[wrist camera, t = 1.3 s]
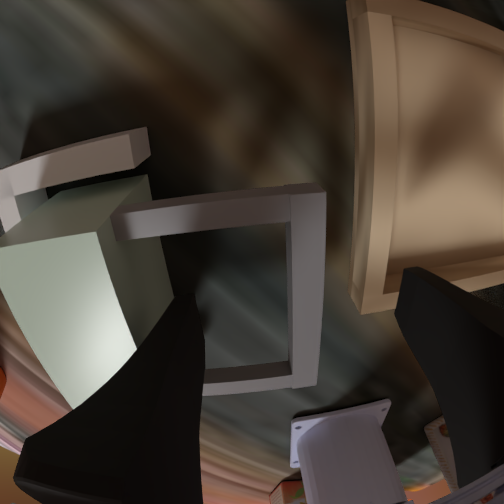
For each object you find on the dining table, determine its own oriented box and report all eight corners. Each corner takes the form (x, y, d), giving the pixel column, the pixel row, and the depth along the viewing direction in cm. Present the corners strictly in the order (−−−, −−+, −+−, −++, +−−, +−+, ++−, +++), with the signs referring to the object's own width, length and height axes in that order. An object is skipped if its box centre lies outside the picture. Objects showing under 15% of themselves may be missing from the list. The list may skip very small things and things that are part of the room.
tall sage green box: (290, 157, 13) (337, 204, 7) (294, 312, 16) (321, 403, 11) (61, 190, 12) (-16, 250, 7) (107, 327, 16) (76, 413, 11)
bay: (146, 126, 12) (128, 133, 9) (194, 351, 17) (191, 384, 15) (19, 160, 11) (-12, 174, 9) (90, 354, 17) (78, 384, 15)
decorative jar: (507, 398, 27) (560, 494, 12) (437, 447, 30) (478, 550, 14) (509, 360, 23) (585, 484, 7) (420, 425, 25) (475, 564, 9)
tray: (531, 256, 16) (547, 269, 15) (347, 291, 16) (360, 314, 14) (553, 69, 10) (574, 72, 8) (345, 1, 9) (364, -12, 8)
